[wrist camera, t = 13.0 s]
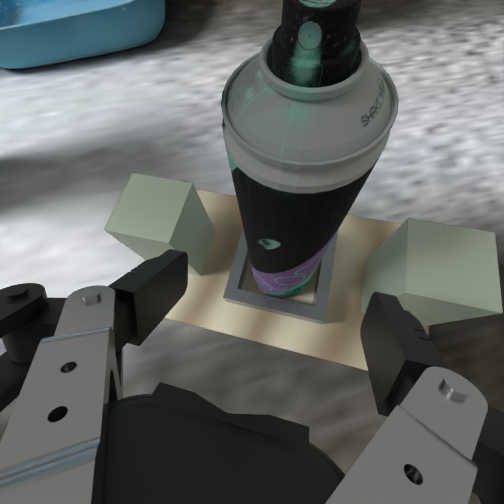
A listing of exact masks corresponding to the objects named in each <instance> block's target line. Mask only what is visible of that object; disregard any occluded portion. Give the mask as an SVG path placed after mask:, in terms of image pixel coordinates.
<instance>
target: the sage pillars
mask: <svg viewBox="0 0 504 504" xmlns="http://www.w3.org/2000/svg"><path fill="white" fill-rule="evenodd" d="M104 230H105V231H106V232H108V233H109V234H111V235H112V236H113V237H115V238H116V239H118V240H119V241H120V242H122V243H123V244H124V245H126V246H127V247H129V248H130V249H131V250H133V251H134V252H136V253H137V254H138V255H140V256H141V257H143V258H144V259H145V260H149V259H152V258H155V257H159V256H160V255H161V254H163V253H164V252H166V251H167V250H169V249H173V250H178V251H183V252H186V253H187V255H188V273H189V274H193V275H198V276H201V273H202V270H203V267H204V264H205V261H206V258H207V255H208V252H209V249H210V246H211V243H212V240H213V236H214V233H215V229H214V227H213V225H212V222H211V220H210V218H209V216H208V214H207V212H206V210H205V208H204V206H203V204H202V201H201V199H200V197H199V195H198V193H197V191H196V189H195V187H194V185H193V183H192V182H186V181H180V180H173V179H167V178H161V177H155V176H149V175H143V174H137V173H132V174H131V176H130V178H129V180H128V182H127V184H126V186H125V188H124V190H123V192H122V194H121V196H120V198H119V200H118V202H117V204H116V206H115V208H114V210H113V212H112V214H111V216H110V218H109V220H108V222H107V224H106V226H105V228H104ZM374 292H380V293H385V294H390V295H395V296H396V297H397V298H398V300H399V302H400V304H401V306H402V308H403V309H404V310H406V311H409V312H410V313H411V314H412V315H414V316H415V317H416V318H417V319H418V320H419V321H420V322H421V324H422V326H429V325H435V324H441V323H447V322H453V321H459V320H465V319H471V318H477V317H483V316H489V315H495V314H501V313H503V310H502V299H501V289H500V279H499V269H498V259H497V248H496V238H495V232H489V231H483V230H477V229H471V228H465V227H459V226H452V225H446V224H440V223H434V222H428V221H422V220H416V219H410V218H408V219H407V220H406V221H405V222H404V223H403V224H402V225H401V226H400V227H399V228H398V229H397V230H396V231H395V232H394V233H393V234H392V235H391V236H390V237H389V238H388V239H387V240H386V241H385V242H384V243H383V244H382V245H381V246H380V247H379V248H378V249H377V250H375V251H374V252H373V253H372V254H371V255H370V256H369V257H368V258H367V259H366V264H365V275H364V285H363V296H362V307H361V313H365V312H366V309H367V307H368V304H369V301H370V298H371V296H372V294H373V293H374Z"/></svg>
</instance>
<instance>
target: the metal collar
mask: <svg viewBox="0 0 504 504" xmlns="http://www.w3.org/2000/svg"><path fill="white" fill-rule="evenodd" d="M337 236H338V231H337V233H336V234H335V236H334V238H333V240H332V241H331V243H330V245H329V247H328V249H327V250H326V252H325V254H324V256H323V257H322V259H321V261H320V263H319V265H318V272H317V278H316V284H315V290H314V296H313V302H312V306H310V305H305V304H301V303H296V302H292V301H288V300H283V299H279V298H275V297H270V296H266V295H262V294H257V293H253V292H249V291H244V290H241V288H242V284H243V280H244V277H245V273H246V269H247V265H248V262H249V258H250V257H249V253H248V248H247V243H246V238H245V234H244V229H242V233H241V236H240V240H239V243H238V247H237V250H236V253H235V257H234V260H233V264H232V267H231V271H230V274H229V278H228V281H227V285H226V288H225V292H224V295H223V298H224V299H225V300H226V302H230V303H234V304H238V305H242V306H246V307H250V308H255V309H259V310H263V311H267V312H271V313H275V314H279V315H284V316H288V317H292V318H296V319H300V320H304V321H309V322H313V323H317V324H323V323H324V322H325V320H326V313H327V306H328V299H329V292H330V285H331V278H332V271H333V264H334V257H335V250H336V243H337Z"/></svg>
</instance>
